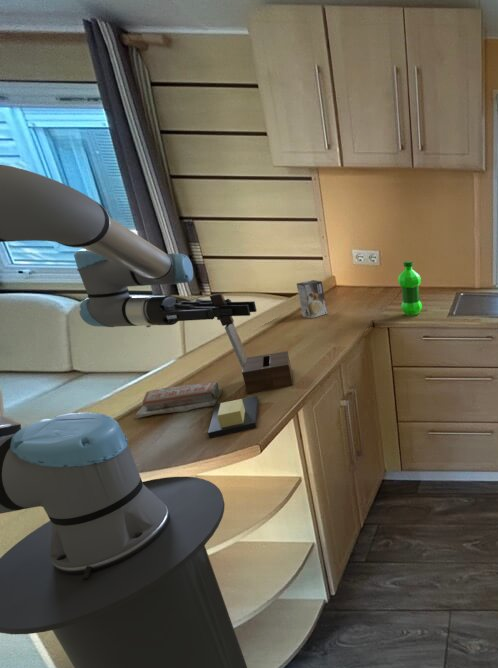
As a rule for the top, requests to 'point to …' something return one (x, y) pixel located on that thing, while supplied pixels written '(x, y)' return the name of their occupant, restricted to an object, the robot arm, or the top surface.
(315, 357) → the top surface
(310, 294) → the coffee box
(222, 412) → the butter left
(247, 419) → the cutting board
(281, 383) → the knife block
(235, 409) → the butter right
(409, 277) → the plastic bottle
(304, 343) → the top surface
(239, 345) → the knife
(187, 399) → the packaged product
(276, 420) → the top surface
